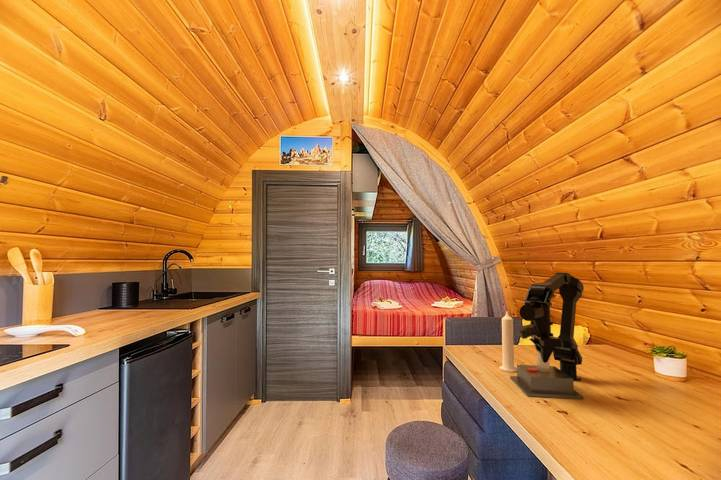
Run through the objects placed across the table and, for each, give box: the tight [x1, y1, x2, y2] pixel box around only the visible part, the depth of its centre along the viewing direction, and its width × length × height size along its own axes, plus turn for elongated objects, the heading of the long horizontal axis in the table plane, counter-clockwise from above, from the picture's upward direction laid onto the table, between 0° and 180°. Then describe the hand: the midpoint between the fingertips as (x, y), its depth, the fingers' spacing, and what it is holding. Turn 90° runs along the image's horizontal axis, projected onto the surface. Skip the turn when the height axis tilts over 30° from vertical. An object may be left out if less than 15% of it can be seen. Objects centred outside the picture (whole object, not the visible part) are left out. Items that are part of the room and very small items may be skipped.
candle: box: [499, 310, 517, 373], centre depth 145 cm, size 7×7×25 cm
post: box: [535, 349, 551, 373], centre depth 123 cm, size 3×3×9 cm
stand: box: [509, 364, 584, 400], centre depth 123 cm, size 18×18×7 cm
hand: (543, 361), depth 123 cm, fingers closed on post, 3 cm apart
